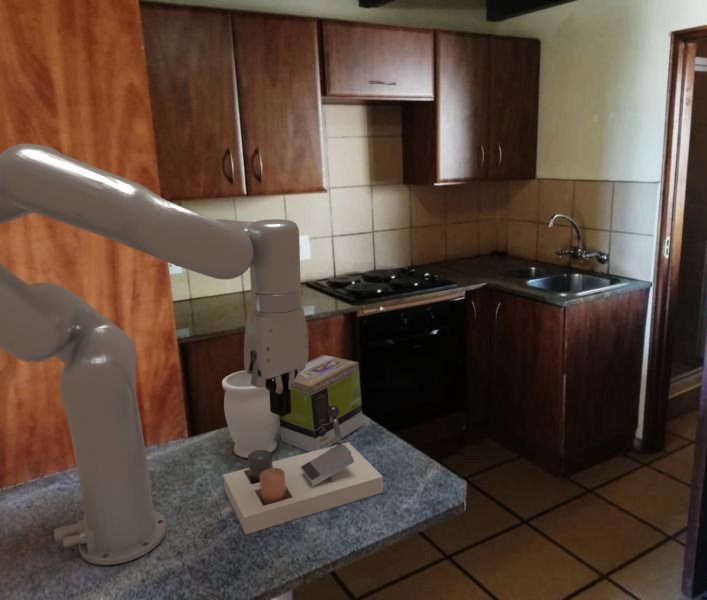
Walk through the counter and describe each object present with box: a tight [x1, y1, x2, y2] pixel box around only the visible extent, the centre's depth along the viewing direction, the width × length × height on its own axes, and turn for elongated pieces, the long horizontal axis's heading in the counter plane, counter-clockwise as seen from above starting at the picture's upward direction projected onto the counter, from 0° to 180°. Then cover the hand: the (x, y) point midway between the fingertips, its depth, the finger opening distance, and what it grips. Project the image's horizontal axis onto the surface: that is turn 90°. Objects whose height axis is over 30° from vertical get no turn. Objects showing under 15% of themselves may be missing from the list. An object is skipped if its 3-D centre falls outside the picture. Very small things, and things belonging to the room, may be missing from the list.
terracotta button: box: [260, 468, 286, 506], centre depth 95 cm, size 4×4×4 cm
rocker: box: [301, 444, 354, 486], centre depth 100 cm, size 8×5×1 cm, turn 115°
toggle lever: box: [328, 406, 343, 446], centre depth 108 cm, size 2×2×8 cm
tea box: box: [278, 354, 364, 453], centre depth 120 cm, size 15×10×15 cm
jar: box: [221, 369, 279, 459], centre depth 115 cm, size 11×10×15 cm
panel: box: [222, 441, 384, 535], centre depth 101 cm, size 24×14×4 cm, turn 115°
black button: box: [247, 450, 273, 485], centre depth 101 cm, size 4×4×4 cm
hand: (280, 412), depth 94 cm, fingers closed
